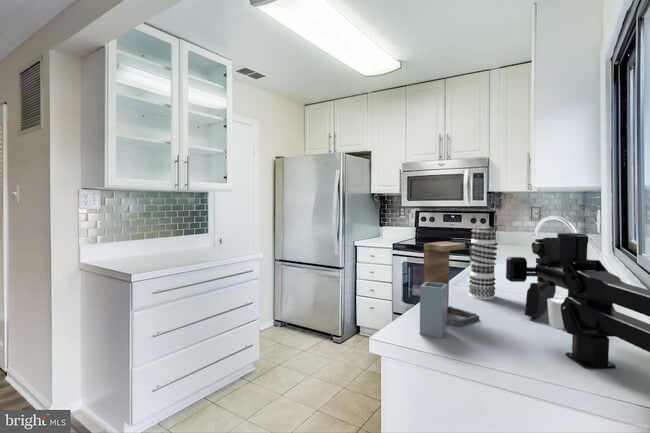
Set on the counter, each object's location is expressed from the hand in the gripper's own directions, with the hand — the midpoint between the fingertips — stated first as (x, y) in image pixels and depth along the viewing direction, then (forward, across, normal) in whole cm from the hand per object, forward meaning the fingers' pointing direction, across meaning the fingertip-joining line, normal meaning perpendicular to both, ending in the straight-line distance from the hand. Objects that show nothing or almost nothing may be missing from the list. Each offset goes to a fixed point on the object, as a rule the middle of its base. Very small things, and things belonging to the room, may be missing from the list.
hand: (526, 263), depth 102 cm
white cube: (-3, -8, +17) cm, 19 cm away
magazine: (+13, -12, +17) cm, 24 cm away
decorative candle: (+27, +1, +17) cm, 31 cm away
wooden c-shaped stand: (+3, +19, +17) cm, 26 cm away
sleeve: (-9, +28, +17) cm, 34 cm away
